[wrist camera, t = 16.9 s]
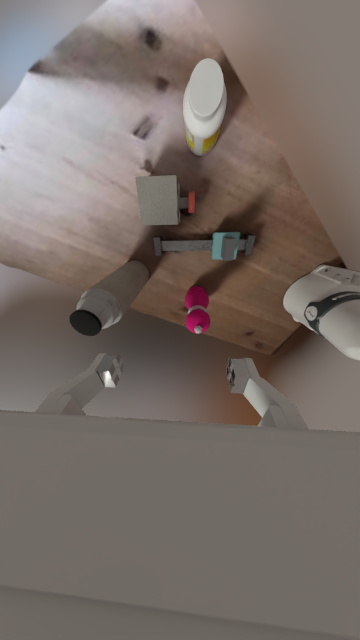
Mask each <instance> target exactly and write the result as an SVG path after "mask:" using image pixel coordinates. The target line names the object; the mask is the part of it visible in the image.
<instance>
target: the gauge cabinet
mask: <svg viewBox="0 0 360 640" xmlns="http://www.w3.org/2000/svg"><path fill="white" fill-rule="evenodd" d="M136 185H137V192H138V199H139V207H140V214H141V221H142V225H178V224H180V209H178V198H180V185H179V181H178V178H177V175H168V176H147V177H136Z"/></svg>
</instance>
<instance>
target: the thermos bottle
mask: <svg viewBox="0 0 360 640" xmlns="http://www.w3.org/2000/svg"><path fill="white" fill-rule="evenodd" d="M148 279H149V272H148V269H147V267H146V266H145V265H144V264H143V263H141V262H139V261H130V262H128V263H126V264H125V265H123V266H122V267H120V268H119V269H117V270H116V271H114V272H113V273H111V274H110V275H108V276H107V277H106V278H104V279H103V280H101V281H100V282H98V283H97V284H95V285H94V286H92V287H91V288H89V289H88V290H86V291H85V292H84V293H83V294H82V296H81V299H80V301H79V302H78V304H77V310H76V311H75V312H74V313H72V314H71V315H70V323H71V325H72V326H73V327H74V329H75V330H77V331H78V332H79V333H81V334H83V335H87V336H94V335H96V334H98V333H99V332H100V330H101V329H103V328H107V327H109V326H111V325H112V324H114V323H116V322H118V321H119V320H120V319H121V317H122V316H123V315H124V313H125V312H126V310H127V309H128V308H129V306H130V305H131V303H132V302H133V301H134V299H135V298H136V297H137V295H138V294H139V292H140V291H141V290H142V288H143V287H144V285H145V284H146V283H147V281H148Z"/></svg>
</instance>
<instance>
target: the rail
mask: <svg viewBox="0 0 360 640" xmlns="http://www.w3.org/2000/svg"><path fill="white" fill-rule="evenodd" d="M254 240H255V235H251V234H245V235H244V239H239V243H238V249H237V250H242V251H241V253H243V254H244V255H251V254H252V249H253V245H254ZM212 245H213V239H205V240H162V236H156V237H154V248H155V256H162V254H163V251H194V250H212Z"/></svg>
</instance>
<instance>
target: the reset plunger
mask: <svg viewBox="0 0 360 640" xmlns="http://www.w3.org/2000/svg"><path fill="white" fill-rule="evenodd" d="M183 208H188V213H195V192H189V194H188V197H180V198H178V209H183Z"/></svg>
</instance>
